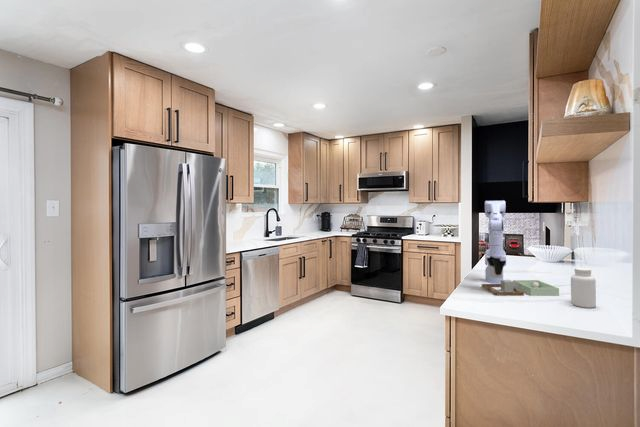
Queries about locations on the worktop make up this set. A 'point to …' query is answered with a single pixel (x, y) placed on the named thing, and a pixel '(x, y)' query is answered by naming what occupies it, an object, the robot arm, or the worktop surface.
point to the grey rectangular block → (493, 274)
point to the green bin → (541, 291)
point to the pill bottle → (583, 288)
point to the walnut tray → (497, 293)
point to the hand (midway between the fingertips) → (496, 273)
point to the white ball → (535, 285)
